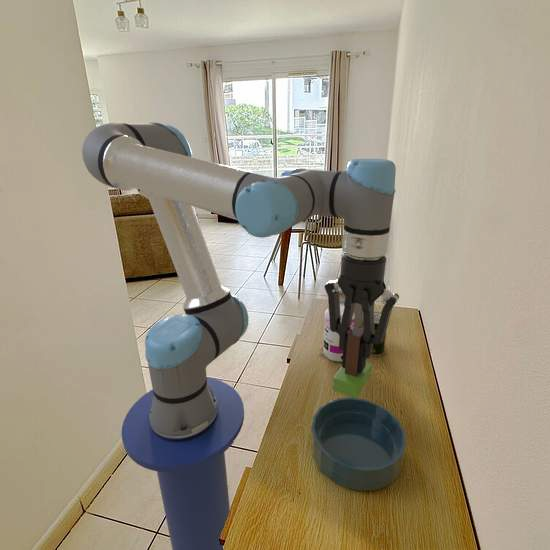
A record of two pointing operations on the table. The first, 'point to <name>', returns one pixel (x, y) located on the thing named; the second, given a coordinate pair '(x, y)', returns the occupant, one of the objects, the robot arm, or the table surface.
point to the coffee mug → (357, 310)
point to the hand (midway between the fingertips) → (353, 366)
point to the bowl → (358, 443)
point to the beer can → (376, 349)
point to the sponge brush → (352, 367)
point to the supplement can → (333, 338)
